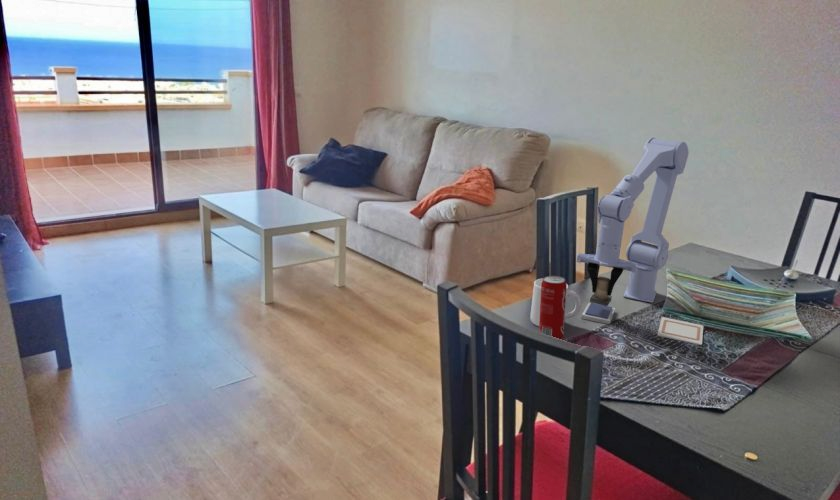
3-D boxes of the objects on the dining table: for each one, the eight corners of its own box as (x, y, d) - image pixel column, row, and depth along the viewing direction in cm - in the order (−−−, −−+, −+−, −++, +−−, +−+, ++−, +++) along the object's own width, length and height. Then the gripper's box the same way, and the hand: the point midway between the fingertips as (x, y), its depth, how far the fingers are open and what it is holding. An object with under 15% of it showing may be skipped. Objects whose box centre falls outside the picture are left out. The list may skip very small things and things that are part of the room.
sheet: (661, 317, 158) (661, 316, 158) (703, 326, 154) (703, 325, 154) (657, 335, 148) (657, 334, 148) (701, 345, 144) (702, 343, 144)
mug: (576, 318, 156) (581, 280, 152) (580, 332, 148) (586, 293, 145) (528, 314, 157) (533, 276, 153) (531, 327, 149) (535, 289, 146)
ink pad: (588, 306, 163) (588, 301, 163) (614, 311, 161) (615, 306, 160) (581, 318, 156) (582, 313, 155) (609, 324, 153) (610, 319, 152)
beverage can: (563, 345, 141) (571, 285, 136) (534, 341, 142) (541, 281, 137) (562, 334, 146) (570, 276, 142) (535, 330, 147) (542, 273, 143)
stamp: (594, 296, 160) (597, 274, 158) (611, 300, 158) (614, 278, 156) (589, 302, 156) (593, 279, 154) (607, 306, 154) (610, 283, 152)
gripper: (576, 241, 151) (570, 292, 156) (637, 252, 146) (628, 304, 150) (582, 234, 157) (576, 283, 162) (641, 244, 152) (632, 294, 156)
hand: (601, 292), depth 156 cm, fingers closed on stamp, 3 cm apart
